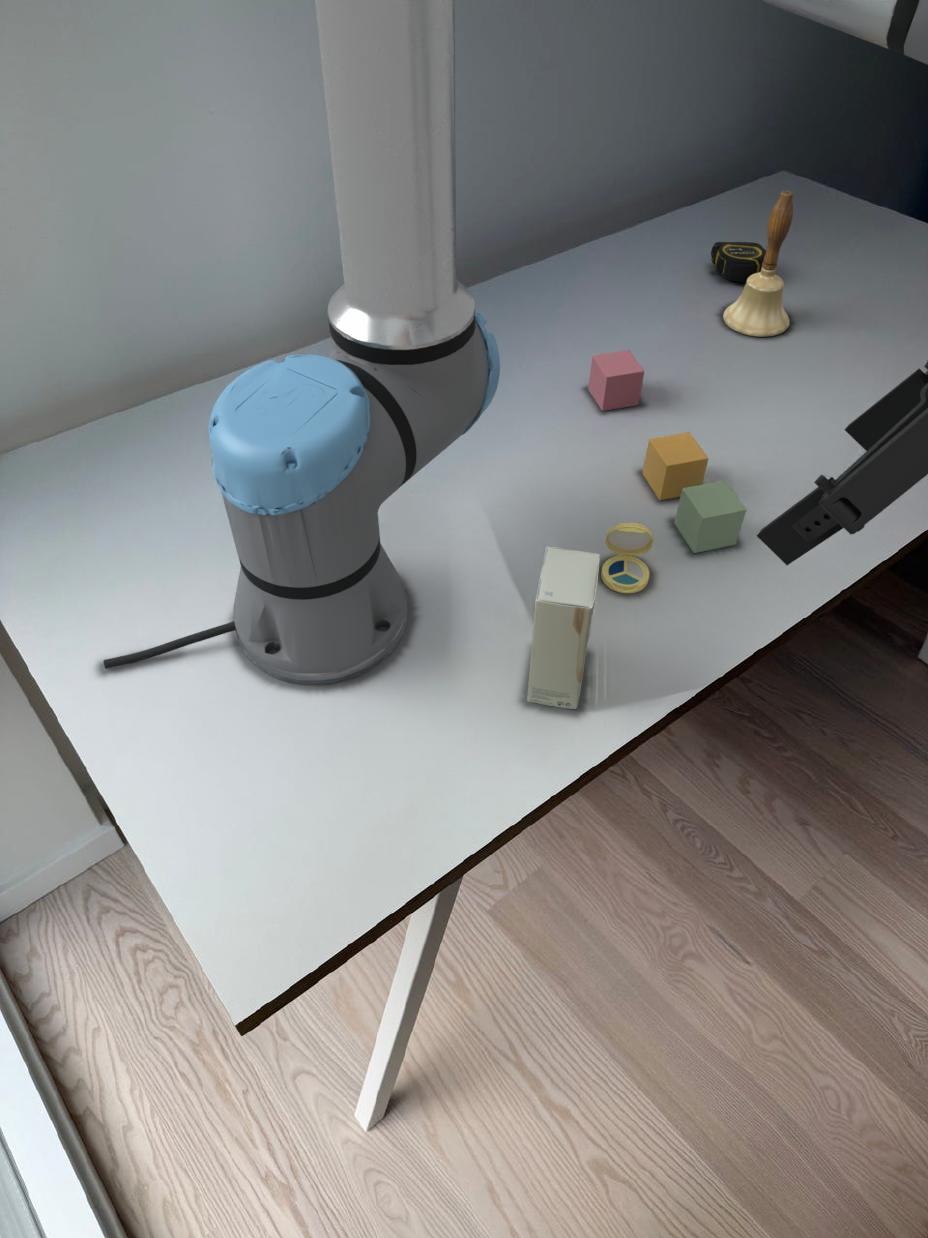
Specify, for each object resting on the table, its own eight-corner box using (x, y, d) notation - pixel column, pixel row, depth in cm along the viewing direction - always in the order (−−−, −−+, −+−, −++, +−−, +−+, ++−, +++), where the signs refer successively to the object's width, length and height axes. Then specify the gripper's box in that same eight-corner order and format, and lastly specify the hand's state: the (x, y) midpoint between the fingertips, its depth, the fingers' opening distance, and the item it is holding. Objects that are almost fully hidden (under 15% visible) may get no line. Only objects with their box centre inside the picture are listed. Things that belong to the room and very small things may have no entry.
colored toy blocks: (693, 553, 86) (702, 518, 82) (587, 389, 104) (592, 355, 101) (735, 544, 87) (746, 509, 83) (623, 383, 105) (629, 349, 101)
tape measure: (757, 264, 124) (764, 237, 121) (766, 288, 120) (773, 261, 117) (708, 263, 124) (713, 236, 122) (715, 287, 120) (721, 260, 117)
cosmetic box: (577, 712, 73) (593, 612, 64) (525, 703, 74) (533, 603, 65) (586, 653, 77) (602, 551, 68) (536, 645, 78) (546, 543, 69)
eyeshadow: (600, 590, 82) (606, 552, 79) (602, 553, 86) (608, 515, 82) (648, 595, 82) (657, 557, 78) (648, 557, 85) (656, 519, 82)
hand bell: (721, 332, 112) (751, 204, 100) (724, 300, 118) (753, 174, 106) (788, 341, 111) (828, 212, 99) (789, 307, 116) (826, 181, 104)
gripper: (1117, 454, 35) (776, 643, 54) (1237, 218, 48) (927, 437, 66) (979, 322, 35) (687, 556, 54) (1134, 122, 48) (854, 367, 66)
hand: (819, 491), depth 60 cm, fingers open, 13 cm apart
